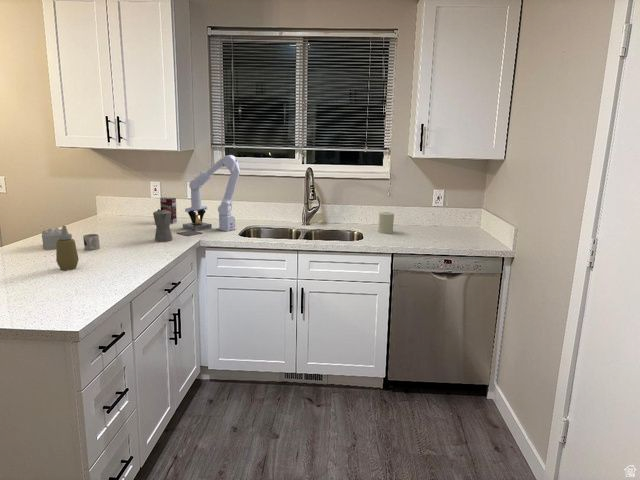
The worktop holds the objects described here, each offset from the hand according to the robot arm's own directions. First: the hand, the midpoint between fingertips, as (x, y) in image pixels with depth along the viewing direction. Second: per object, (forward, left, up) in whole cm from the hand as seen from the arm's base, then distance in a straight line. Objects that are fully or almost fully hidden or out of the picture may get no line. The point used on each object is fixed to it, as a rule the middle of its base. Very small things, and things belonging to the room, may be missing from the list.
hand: (196, 222), depth 270 cm
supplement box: (+26, +2, -4) cm, 26 cm away
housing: (0, 0, -3) cm, 4 cm away
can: (-88, -73, -4) cm, 114 cm away
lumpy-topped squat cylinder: (+12, +75, -4) cm, 76 cm away
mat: (-9, +12, -3) cm, 15 cm away
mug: (-6, +66, -4) cm, 66 cm away
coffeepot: (-12, +31, -4) cm, 33 cm away
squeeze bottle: (-30, +87, -4) cm, 92 cm away
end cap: (0, 0, -3) cm, 3 cm away
